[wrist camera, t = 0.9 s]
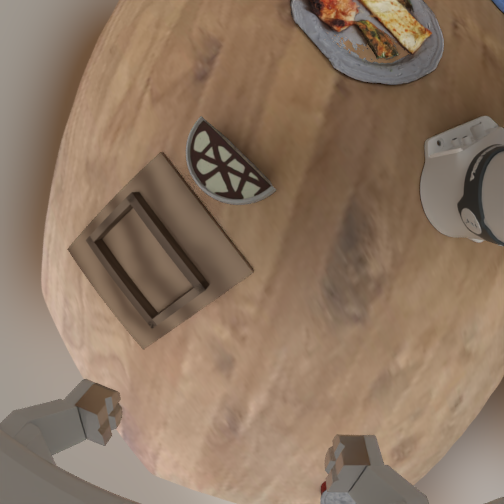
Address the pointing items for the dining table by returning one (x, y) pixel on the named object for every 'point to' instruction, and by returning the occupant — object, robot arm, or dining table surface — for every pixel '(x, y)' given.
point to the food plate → (373, 36)
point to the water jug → (499, 4)
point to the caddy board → (157, 254)
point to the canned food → (334, 497)
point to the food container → (223, 167)
